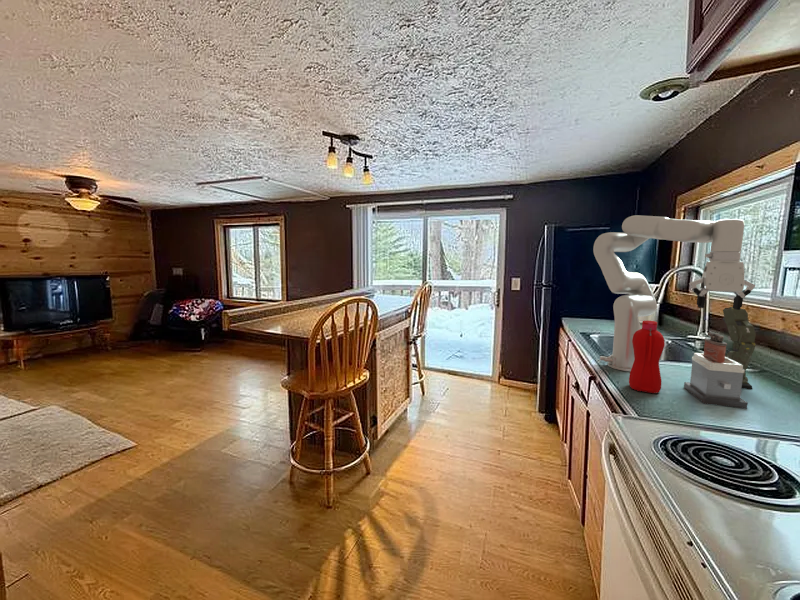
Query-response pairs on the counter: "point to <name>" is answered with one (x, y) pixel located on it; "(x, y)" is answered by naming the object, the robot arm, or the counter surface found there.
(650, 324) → the water bottle
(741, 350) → the mechanical leg
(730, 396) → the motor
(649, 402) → the counter surface
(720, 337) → the lighter
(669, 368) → the counter surface
